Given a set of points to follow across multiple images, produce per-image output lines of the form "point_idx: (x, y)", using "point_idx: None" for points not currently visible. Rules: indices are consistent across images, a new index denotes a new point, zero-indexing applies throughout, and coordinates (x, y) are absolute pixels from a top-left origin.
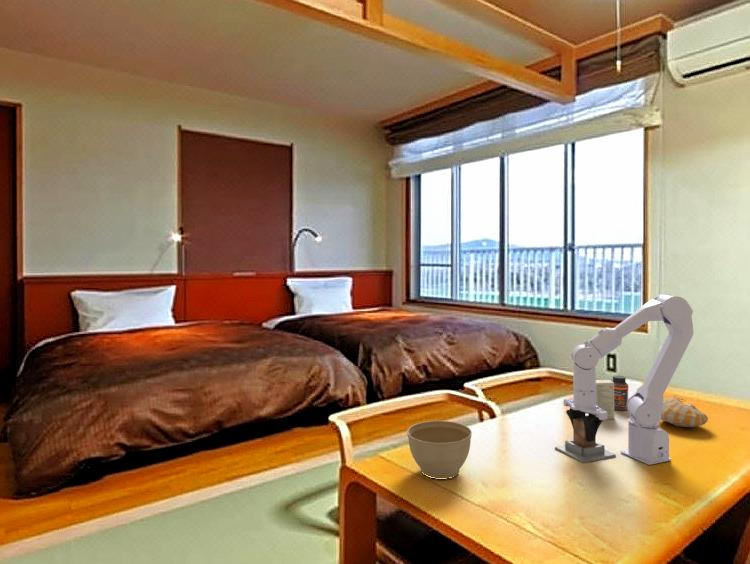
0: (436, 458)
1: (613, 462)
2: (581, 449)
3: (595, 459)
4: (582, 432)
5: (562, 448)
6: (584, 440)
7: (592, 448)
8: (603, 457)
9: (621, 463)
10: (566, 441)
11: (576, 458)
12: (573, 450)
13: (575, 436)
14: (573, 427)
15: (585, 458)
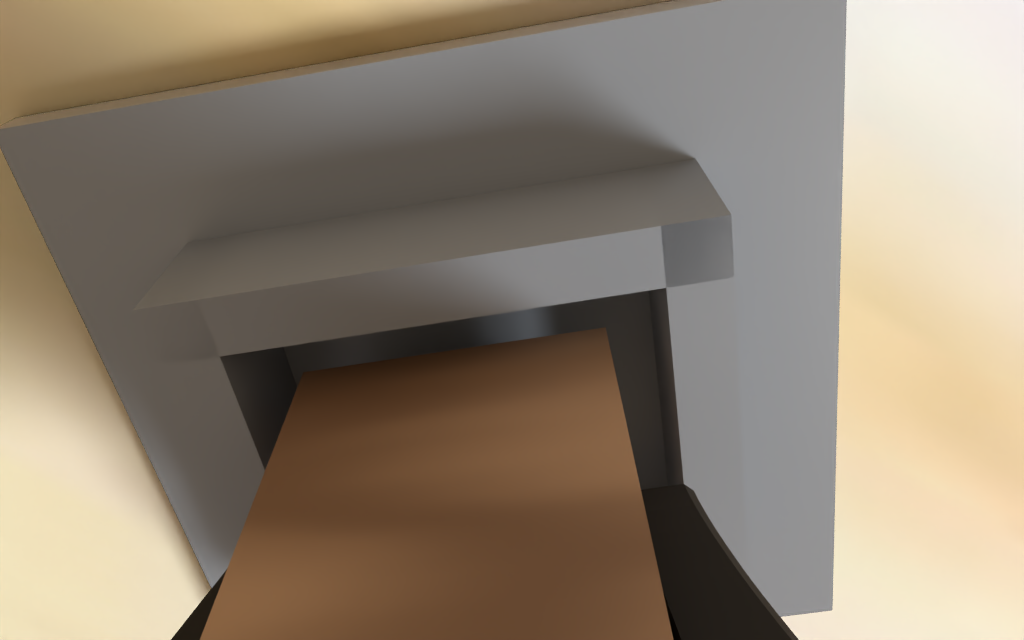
0: None
1: (63, 545)
2: (197, 290)
3: (120, 378)
4: (251, 632)
5: (689, 87)
6: (261, 498)
7: (216, 493)
8: (184, 513)
9: (29, 606)
10: (688, 223)
11: (177, 95)
12: (456, 211)
13: (555, 448)
14: (666, 611)
15: (113, 237)
